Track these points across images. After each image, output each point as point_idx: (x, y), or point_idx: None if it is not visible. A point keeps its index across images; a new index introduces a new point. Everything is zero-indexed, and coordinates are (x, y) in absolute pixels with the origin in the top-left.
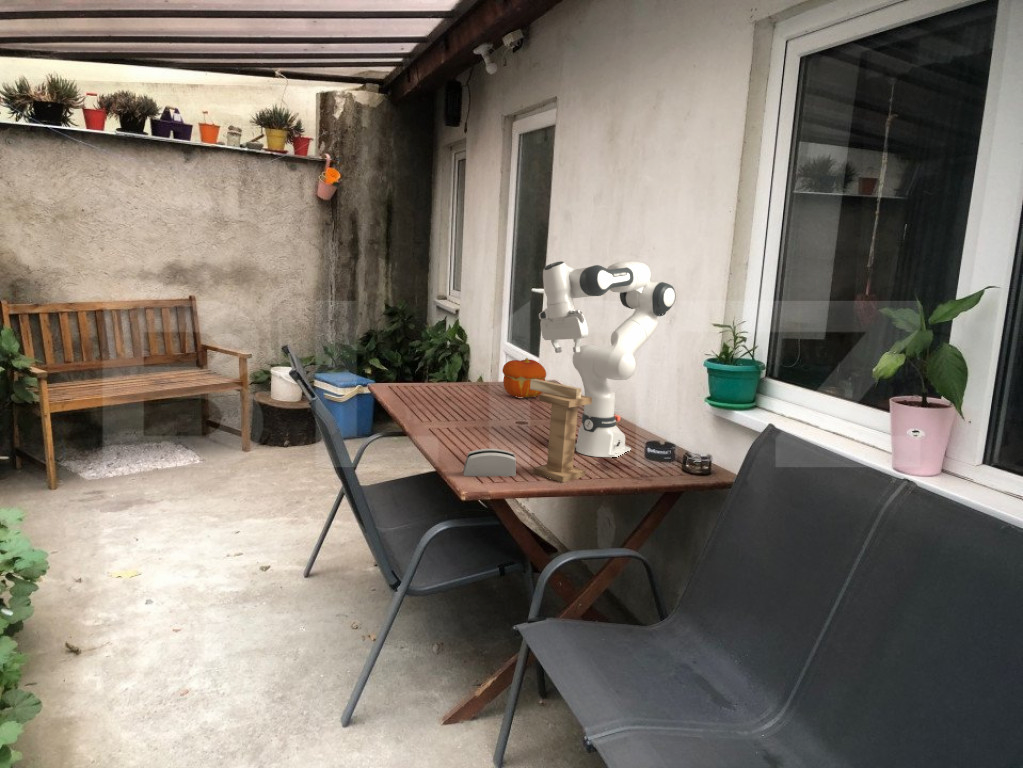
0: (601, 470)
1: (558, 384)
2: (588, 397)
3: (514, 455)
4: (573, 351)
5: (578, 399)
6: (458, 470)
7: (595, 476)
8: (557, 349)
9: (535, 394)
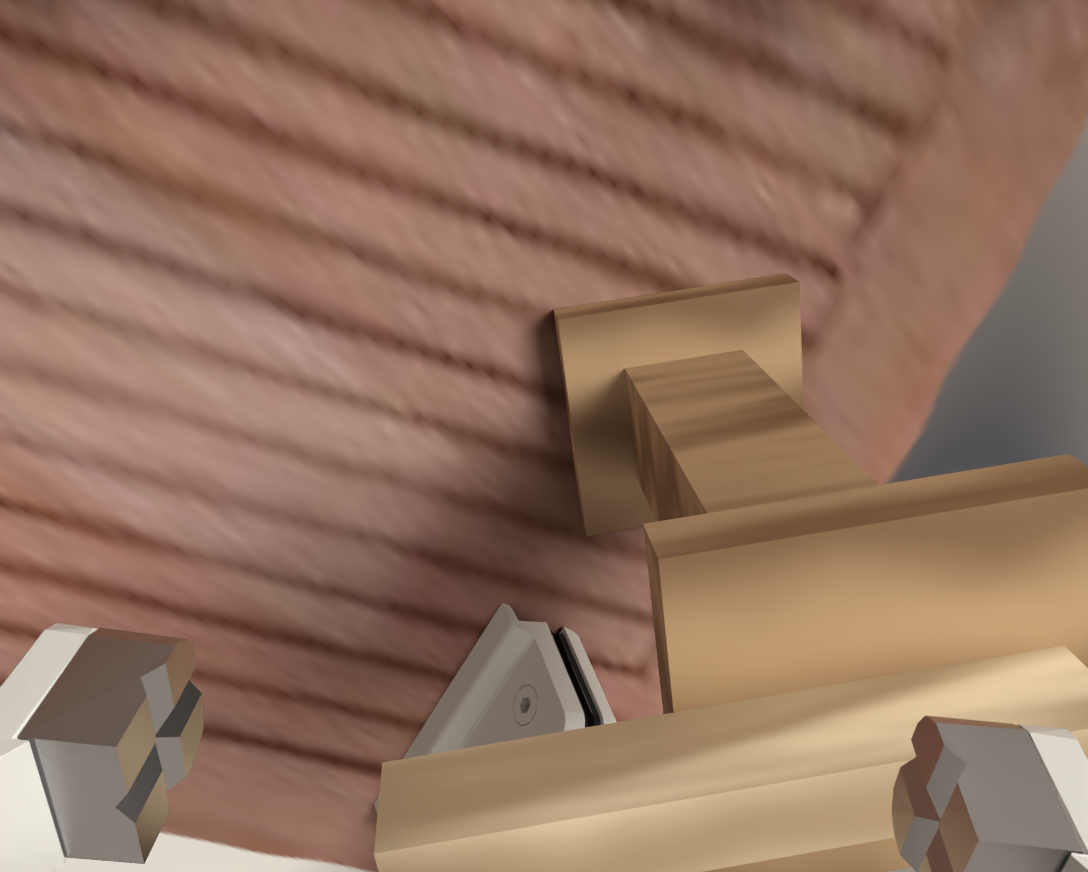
0: (762, 62)
1: (809, 810)
2: (1081, 518)
3: (584, 720)
4: (900, 835)
5: None
6: (349, 815)
7: (825, 213)
8: (160, 816)
9: None
